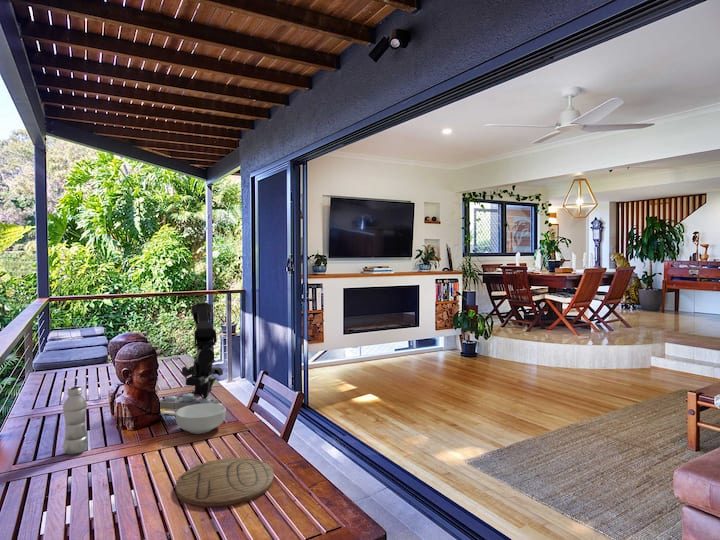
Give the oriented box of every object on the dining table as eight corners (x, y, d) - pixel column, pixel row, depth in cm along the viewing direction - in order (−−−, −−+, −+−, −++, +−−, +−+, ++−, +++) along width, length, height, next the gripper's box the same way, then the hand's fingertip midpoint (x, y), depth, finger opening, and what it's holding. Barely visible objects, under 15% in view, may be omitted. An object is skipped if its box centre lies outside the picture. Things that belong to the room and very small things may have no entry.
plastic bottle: (62, 458, 139) (61, 392, 139) (64, 450, 145) (63, 386, 145) (87, 454, 142) (86, 389, 142) (88, 446, 148) (87, 384, 148)
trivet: (177, 519, 107) (177, 510, 107) (173, 473, 130) (173, 466, 130) (284, 496, 117) (283, 489, 117) (263, 458, 140) (263, 451, 140)
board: (169, 402, 194) (169, 394, 194) (223, 405, 190) (223, 397, 190) (148, 413, 180) (148, 405, 180) (205, 417, 176) (205, 408, 176)
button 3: (203, 404, 187) (203, 397, 187) (213, 405, 186) (213, 397, 186) (197, 408, 183) (197, 400, 183) (207, 408, 182) (207, 401, 182)
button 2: (186, 400, 189) (186, 393, 189) (196, 401, 188) (195, 393, 188) (179, 403, 184) (179, 396, 184) (190, 404, 183) (190, 396, 183)
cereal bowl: (235, 429, 164) (235, 409, 163) (190, 442, 151) (190, 421, 151) (210, 418, 175) (210, 399, 175) (166, 430, 163) (166, 409, 163)
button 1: (169, 402, 190) (169, 395, 190) (179, 403, 189) (179, 395, 189) (162, 405, 186) (162, 398, 186) (172, 406, 185) (172, 399, 185)
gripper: (198, 353, 195) (198, 390, 195) (172, 363, 177) (173, 403, 177) (223, 354, 193) (223, 391, 193) (199, 364, 174) (200, 405, 175)
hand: (205, 397), depth 185 cm, fingers closed
